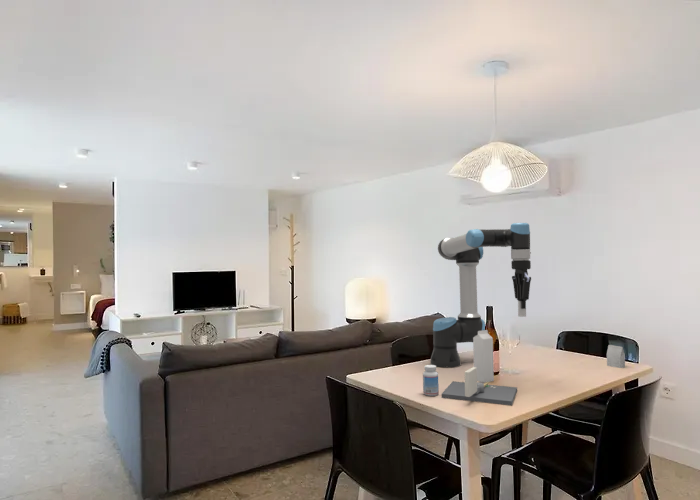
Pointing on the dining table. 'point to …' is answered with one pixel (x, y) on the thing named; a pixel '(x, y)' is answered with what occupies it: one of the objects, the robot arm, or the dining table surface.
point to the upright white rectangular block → (473, 383)
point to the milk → (483, 356)
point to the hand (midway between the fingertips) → (522, 316)
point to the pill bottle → (430, 381)
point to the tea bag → (615, 356)
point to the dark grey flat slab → (482, 393)
